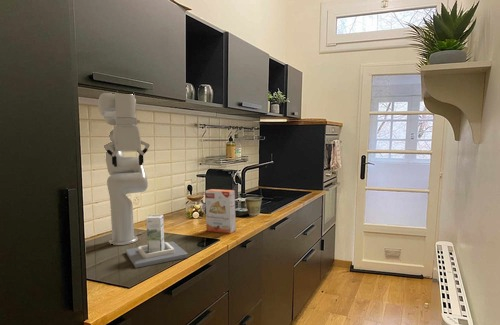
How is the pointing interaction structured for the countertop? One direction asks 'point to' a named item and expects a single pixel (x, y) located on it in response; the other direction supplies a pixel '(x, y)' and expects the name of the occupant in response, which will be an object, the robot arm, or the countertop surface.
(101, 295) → the countertop surface
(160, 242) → the syrup box
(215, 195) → the cracker box
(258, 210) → the ceramic cup
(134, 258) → the base board
